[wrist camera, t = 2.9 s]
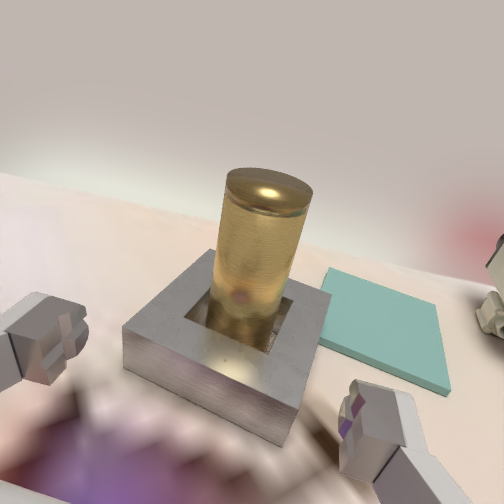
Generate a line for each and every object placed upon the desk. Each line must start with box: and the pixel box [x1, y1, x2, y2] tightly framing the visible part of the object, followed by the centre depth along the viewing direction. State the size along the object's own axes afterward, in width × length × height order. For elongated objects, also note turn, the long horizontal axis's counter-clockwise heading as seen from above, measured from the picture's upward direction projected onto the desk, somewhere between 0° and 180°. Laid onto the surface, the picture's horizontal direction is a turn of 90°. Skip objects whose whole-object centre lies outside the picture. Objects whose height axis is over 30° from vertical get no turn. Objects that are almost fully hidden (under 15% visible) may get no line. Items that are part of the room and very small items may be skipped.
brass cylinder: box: [205, 168, 313, 353], centre depth 23 cm, size 5×5×14 cm
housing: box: [122, 249, 332, 447], centre depth 25 cm, size 12×12×4 cm
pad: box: [318, 267, 451, 397], centre depth 32 cm, size 12×12×1 cm
